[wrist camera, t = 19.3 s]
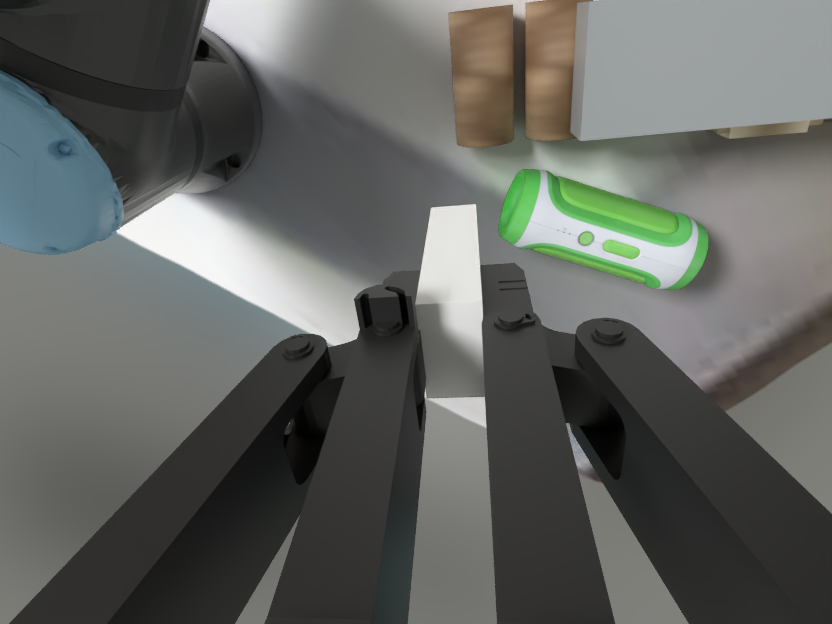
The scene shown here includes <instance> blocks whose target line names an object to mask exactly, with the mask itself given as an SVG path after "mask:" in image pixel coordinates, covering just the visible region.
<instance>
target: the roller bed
mask: <svg viewBox="0 0 832 624" xmlns="http://www.w3.org/2000/svg"><path fill="white" fill-rule="evenodd" d="M589 1H593V0H545V1H538V2H530V3H526V70H525V137H526V138H528V139H532V140H539V141H555V140H565V139H571V138H576V137H575V136H574V135H573V134H572V133H571V132H570V126H571V108H572V89H573V70H574V51H575V32H576V14H577V3H580V2H589ZM449 29H450V44H451V60H452V75H453V91H454V106H455V122H456V137H457V144H458V145H459V146H463V147H490V146H497V145H502V144H505V143H508V142H511V141H512V140H513V139H514V85H513V5H506V6H498V7H490V8H482V9H474V10H466V11H458V12H451V13H449Z"/></svg>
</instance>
